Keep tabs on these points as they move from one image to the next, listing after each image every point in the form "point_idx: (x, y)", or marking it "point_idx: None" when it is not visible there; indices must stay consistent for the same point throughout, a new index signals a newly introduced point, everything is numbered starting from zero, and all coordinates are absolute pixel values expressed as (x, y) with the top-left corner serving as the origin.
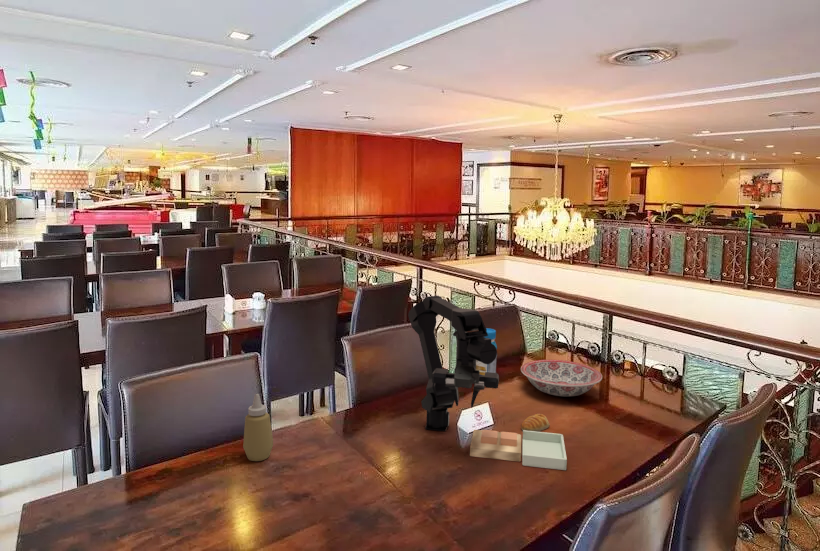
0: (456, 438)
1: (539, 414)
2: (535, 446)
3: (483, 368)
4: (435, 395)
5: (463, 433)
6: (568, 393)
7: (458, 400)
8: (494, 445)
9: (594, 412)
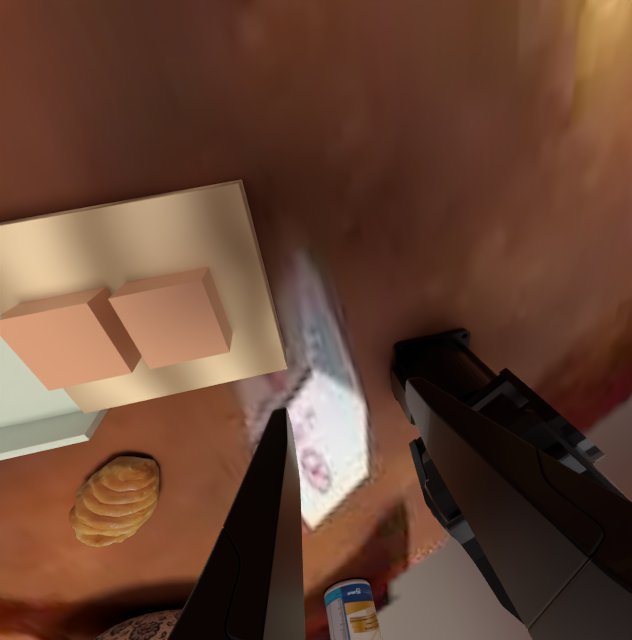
0: (344, 315)
1: (106, 542)
2: (17, 378)
3: (357, 626)
4: (572, 449)
5: (329, 359)
6: (107, 638)
7: (424, 438)
8: (130, 266)
9: (26, 600)
